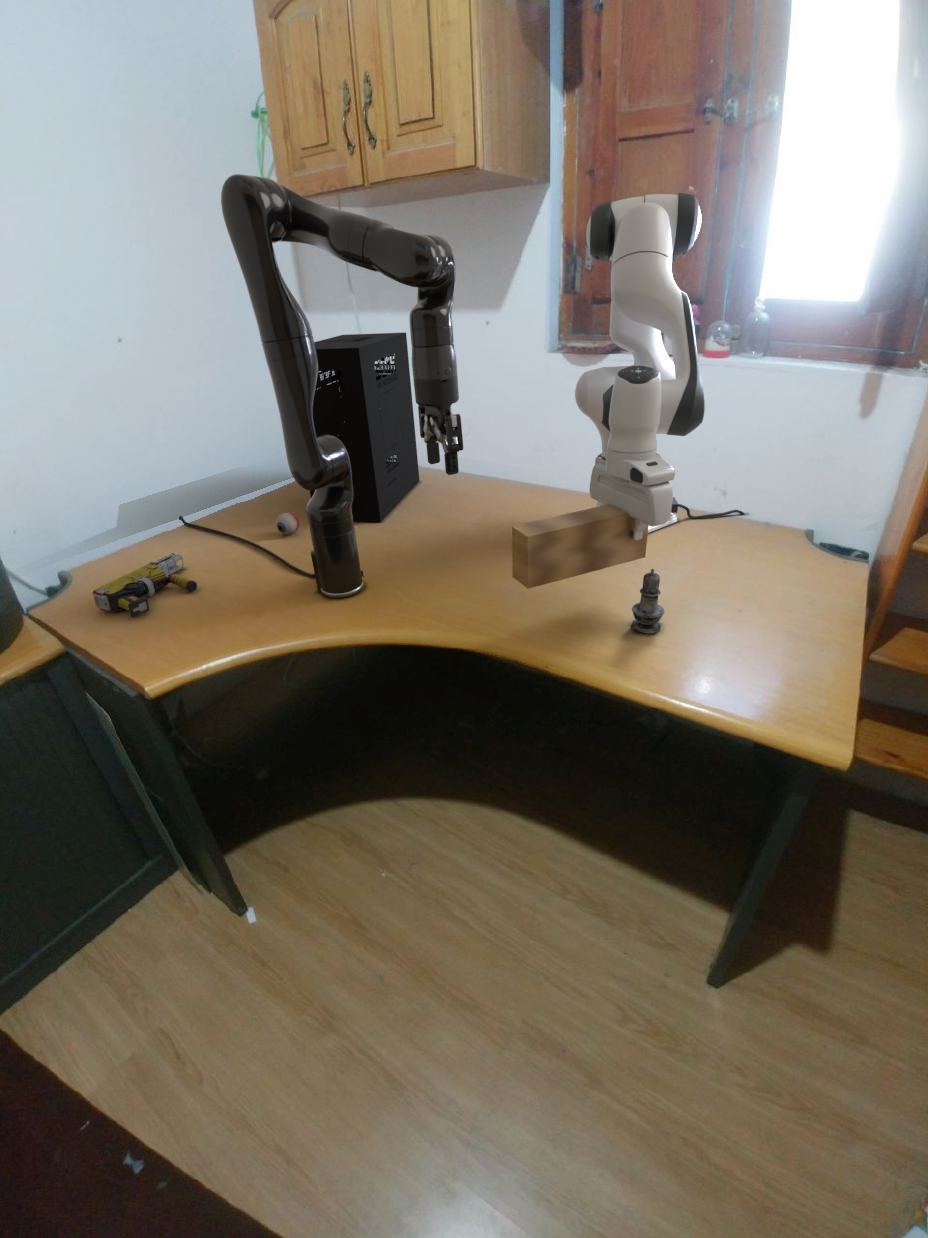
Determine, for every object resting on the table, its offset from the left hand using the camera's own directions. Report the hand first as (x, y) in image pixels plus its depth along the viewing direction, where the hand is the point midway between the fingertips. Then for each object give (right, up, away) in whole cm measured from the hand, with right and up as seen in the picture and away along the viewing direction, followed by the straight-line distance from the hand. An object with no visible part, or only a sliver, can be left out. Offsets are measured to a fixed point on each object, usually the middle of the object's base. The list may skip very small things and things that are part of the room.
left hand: (443, 468), depth 110 cm
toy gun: (-65, -22, +27) cm, 74 cm away
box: (+26, -17, +7) cm, 32 cm away
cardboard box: (-25, +10, +77) cm, 82 cm away
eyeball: (-44, -4, +55) cm, 71 cm away
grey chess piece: (+38, -29, +4) cm, 48 cm away
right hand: (+35, -11, +8) cm, 38 cm away
